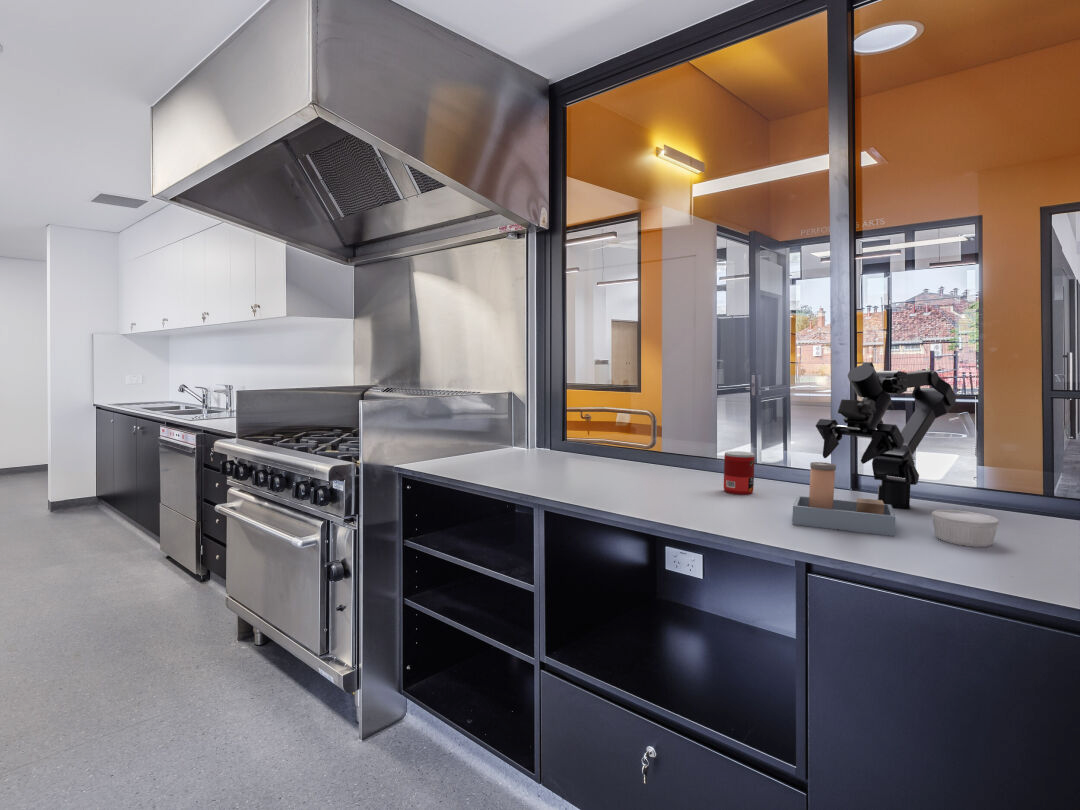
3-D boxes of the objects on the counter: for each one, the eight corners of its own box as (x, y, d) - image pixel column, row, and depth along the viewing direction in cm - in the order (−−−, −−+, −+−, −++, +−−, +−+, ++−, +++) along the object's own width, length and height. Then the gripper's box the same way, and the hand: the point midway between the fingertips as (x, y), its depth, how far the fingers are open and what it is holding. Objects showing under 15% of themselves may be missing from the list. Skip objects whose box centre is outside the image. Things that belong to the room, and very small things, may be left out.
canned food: (755, 495, 163) (756, 455, 162) (725, 493, 164) (726, 454, 163) (751, 489, 170) (752, 451, 169) (722, 488, 172) (723, 450, 171)
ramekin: (963, 532, 127) (964, 508, 127) (1012, 548, 116) (1014, 521, 116) (917, 534, 125) (918, 509, 125) (963, 550, 114) (964, 523, 114)
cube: (881, 522, 132) (882, 500, 131) (883, 527, 127) (884, 504, 127) (856, 519, 134) (857, 497, 134) (856, 524, 130) (857, 502, 129)
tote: (890, 522, 134) (891, 504, 134) (894, 536, 123) (895, 516, 123) (796, 512, 143) (796, 495, 143) (792, 524, 132) (792, 506, 132)
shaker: (827, 516, 137) (830, 462, 136) (836, 522, 132) (839, 466, 131) (804, 515, 137) (807, 461, 137) (812, 521, 132) (815, 465, 131)
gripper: (821, 386, 148) (792, 432, 143) (899, 388, 132) (870, 440, 127) (838, 416, 152) (811, 462, 147) (916, 422, 137) (888, 474, 131)
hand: (842, 459), depth 138 cm, fingers open, 9 cm apart
